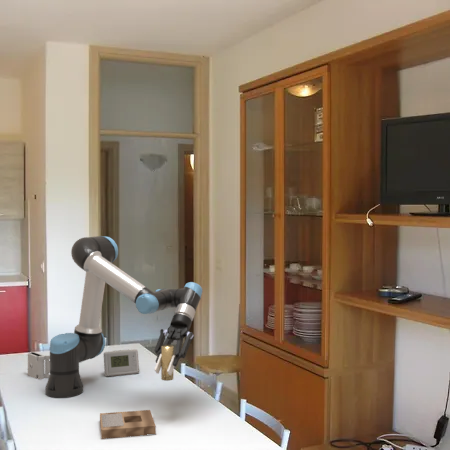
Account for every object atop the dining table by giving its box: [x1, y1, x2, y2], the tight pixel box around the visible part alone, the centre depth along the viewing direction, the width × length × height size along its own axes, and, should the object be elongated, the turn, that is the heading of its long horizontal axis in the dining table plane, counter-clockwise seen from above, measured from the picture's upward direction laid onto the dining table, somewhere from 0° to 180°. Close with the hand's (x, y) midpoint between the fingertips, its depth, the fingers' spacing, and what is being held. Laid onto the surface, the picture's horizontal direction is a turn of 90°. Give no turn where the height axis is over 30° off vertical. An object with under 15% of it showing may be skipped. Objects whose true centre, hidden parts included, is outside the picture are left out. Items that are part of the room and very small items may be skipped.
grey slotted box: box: [27, 351, 50, 380], centre depth 267 cm, size 14×5×10 cm, turn 59°
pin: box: [160, 344, 175, 382], centre depth 216 cm, size 4×4×12 cm
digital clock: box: [103, 348, 140, 377], centre depth 273 cm, size 16×9×11 cm, turn 102°
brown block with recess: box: [99, 409, 157, 440], centre depth 207 cm, size 18×16×3 cm
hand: (162, 372), depth 213 cm, fingers closed on pin, 4 cm apart
